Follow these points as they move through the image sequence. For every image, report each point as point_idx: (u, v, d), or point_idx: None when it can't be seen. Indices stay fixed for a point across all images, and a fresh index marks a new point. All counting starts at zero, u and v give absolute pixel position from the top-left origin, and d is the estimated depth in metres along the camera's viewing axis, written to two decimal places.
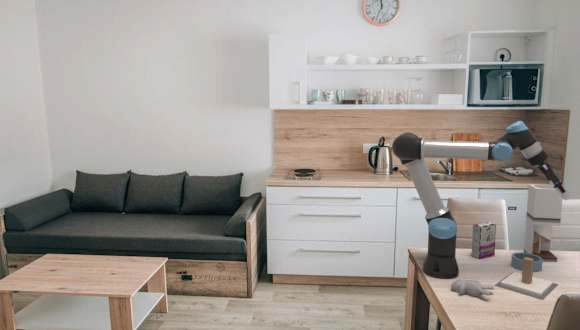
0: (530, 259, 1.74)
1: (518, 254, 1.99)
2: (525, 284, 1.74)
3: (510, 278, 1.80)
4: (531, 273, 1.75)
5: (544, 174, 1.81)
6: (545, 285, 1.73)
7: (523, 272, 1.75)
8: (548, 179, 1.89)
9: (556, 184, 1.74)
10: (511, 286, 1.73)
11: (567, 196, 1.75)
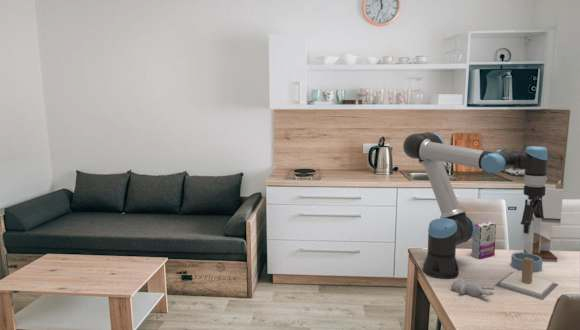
0: (530, 259, 1.74)
1: (518, 254, 1.99)
2: (525, 284, 1.74)
3: (510, 278, 1.80)
4: (531, 273, 1.75)
5: None
6: (545, 285, 1.73)
7: (523, 272, 1.75)
8: (534, 215, 1.78)
9: (523, 222, 1.66)
10: (511, 286, 1.73)
11: (526, 238, 1.69)
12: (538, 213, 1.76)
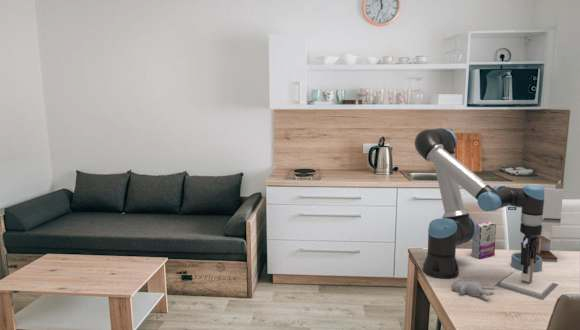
0: (530, 259, 1.74)
1: (518, 254, 1.99)
2: (525, 284, 1.74)
3: (510, 278, 1.80)
4: (531, 273, 1.75)
5: None
6: (545, 285, 1.73)
7: None
8: None
9: (522, 263, 1.72)
10: (511, 286, 1.73)
11: (525, 278, 1.74)
12: (531, 255, 1.75)
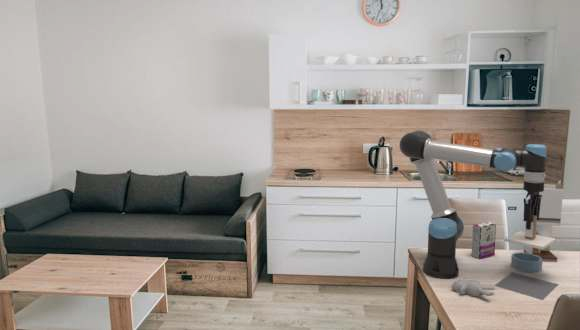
0: (533, 216, 1.81)
1: (518, 254, 1.99)
2: (528, 240, 1.81)
3: (514, 235, 1.87)
4: (534, 229, 1.82)
5: None
6: (548, 241, 1.80)
7: None
8: None
9: (525, 218, 1.79)
10: (514, 241, 1.81)
11: (528, 234, 1.81)
12: (534, 213, 1.83)
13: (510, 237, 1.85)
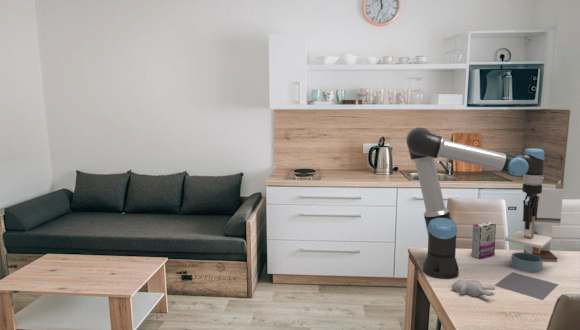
0: (532, 216, 1.91)
1: (518, 254, 1.99)
2: (527, 239, 1.91)
3: (513, 235, 1.97)
4: (533, 229, 1.91)
5: None
6: (546, 240, 1.90)
7: None
8: None
9: (524, 219, 1.89)
10: (514, 241, 1.90)
11: (527, 233, 1.91)
12: (533, 213, 1.92)
13: (510, 237, 1.94)
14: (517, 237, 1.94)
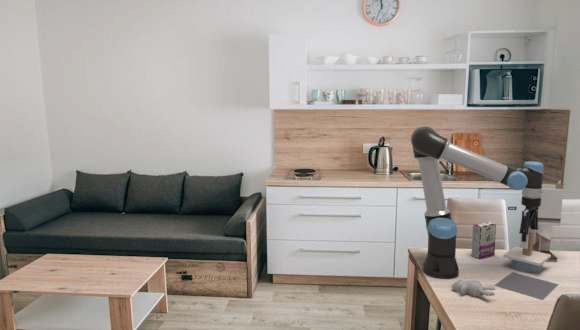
0: (530, 233, 1.92)
1: None
2: (525, 256, 1.92)
3: (512, 251, 1.98)
4: (531, 246, 1.93)
5: None
6: (544, 257, 1.91)
7: None
8: None
9: (521, 231, 1.87)
10: (513, 258, 1.91)
11: (524, 246, 1.90)
12: (533, 224, 1.95)
13: (508, 253, 1.96)
14: (515, 254, 1.95)
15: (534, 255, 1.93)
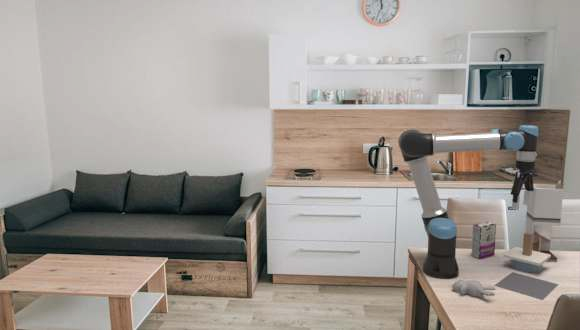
0: (530, 233, 1.92)
1: None
2: (525, 256, 1.92)
3: (512, 251, 1.98)
4: (531, 246, 1.93)
5: None
6: (544, 257, 1.91)
7: (524, 245, 1.93)
8: (525, 188, 1.98)
9: (512, 192, 1.86)
10: (513, 258, 1.91)
11: (515, 207, 1.88)
12: (528, 186, 1.96)
13: (508, 253, 1.96)
14: (515, 254, 1.95)
15: (534, 255, 1.93)
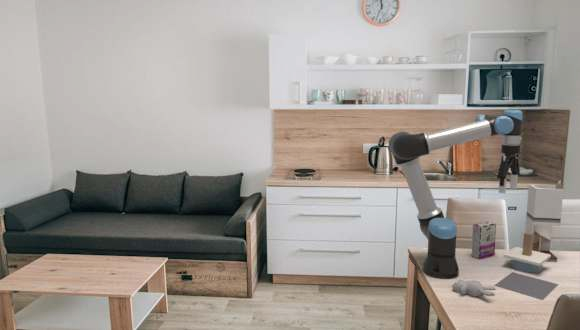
0: (530, 233, 1.92)
1: None
2: (525, 256, 1.92)
3: (512, 251, 1.98)
4: (531, 246, 1.93)
5: None
6: (544, 257, 1.91)
7: (524, 245, 1.93)
8: None
9: (498, 175, 1.90)
10: (513, 258, 1.91)
11: (502, 190, 1.92)
12: (514, 170, 1.99)
13: (508, 253, 1.96)
14: (515, 254, 1.95)
15: (534, 255, 1.93)
